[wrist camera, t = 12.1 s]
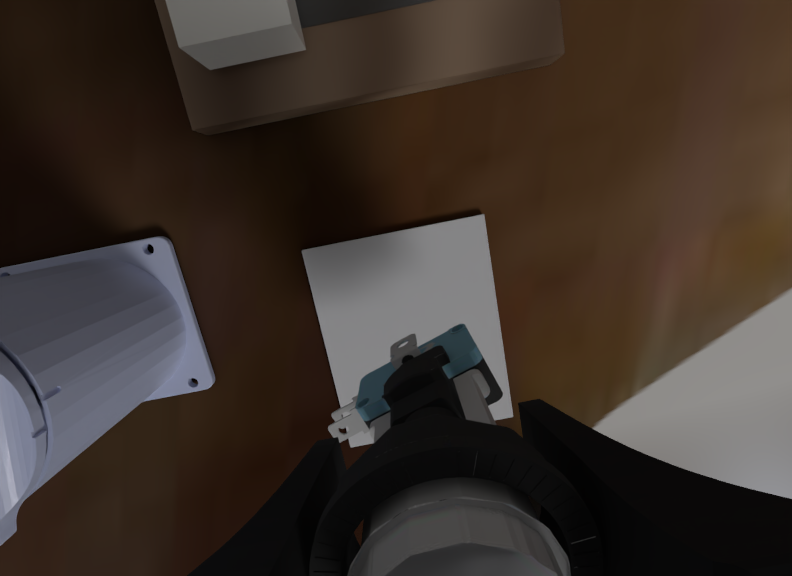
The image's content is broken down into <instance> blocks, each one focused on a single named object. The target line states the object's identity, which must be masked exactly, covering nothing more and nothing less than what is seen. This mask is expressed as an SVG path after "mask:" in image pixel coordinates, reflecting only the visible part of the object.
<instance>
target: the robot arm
mask: <svg viewBox="0 0 792 576" xmlns="http://www.w3.org/2000/svg"><path fill="white" fill-rule="evenodd" d="M148 244H150V245H152V246H153V248H154V252H153V254H152V253H150V252H149V251H148V248H147V246H148ZM8 274H10V275H9V276H8ZM192 378H195V379H196V380H197V381H198V384H195V383H193V382H192ZM214 382H215V375H214V372H213V369H212V366H211V363H210V360H209V356H208V353H207V350H206V347H205V344H204V341H203V338H202V335H201V332H200V328H199V325H198V322H197V319H196V316H195V313H194V310H193V307H192V303H191V300H190V297H189V294H188V291H187V288H186V285H185V282H184V279H183V275H182V272H181V269H180V266H179V263H178V260H177V257H176V254H175V251H174V247H173V244H172V243H171V241H170V240H169V239H168V238H167V237H164V236H157V237H152V238H147V239H142V240H137V241H132V242H127V243H122V244H117V245H112V246H107V247H102V248H97V249H92V250H87V251H82V252H78V253H73V254H68V255H63V256H58V257H53V258H48V259H43V260H38V261H33V262H28V263H23V264H18V265H13V266H8V267H3V268H0V546H1V545H2V544H3V543H4V542H5V541H6V540H7V539H8V538H9V537H11V536H12V535H13V534H14V533H15V532H16V531H17V527H16V517H17V512H18V510H19V507H20V505H21V504H22V503H23V501H24V500H25V499H26V498H28V497H29V496H30V495H31V494H32V493H34V492H35V491H36V490H37V489H38V488H40V487H41V486H42V485H43V484H44V483H46V482H47V481H48V480H49V479H50V478H52V477H53V476H54V475H55V474H56V473H58V472H59V471H60V470H61V469H62V468H64V467H65V466H66V465H67V464H68V463H70V462H71V461H72V460H73V459H74V458H76V457H77V456H78V455H79V454H80V453H82V452H83V451H84V450H85V449H86V448H88V447H89V446H90V445H91V444H92V443H93V442H95V441H96V440H97V439H98V438H99V437H101V436H102V435H103V434H104V433H105V432H107V431H108V430H109V429H110V428H111V427H113V426H114V425H115V424H116V423H117V422H119V421H120V420H121V419H122V418H123V417H125V416H126V415H127V414H128V413H129V412H131V411H132V410H133V409H134V408H135V407H137V406H138V405H139V404H140V403H141V402H143V401H148V400H154V399H159V398H164V397H169V396H174V395H179V394H185V393H190V392H195V391H200V390H205V389H208V388H210V387H211V386H212V385H213V384H214ZM518 405H519V412H520V419H521V426H522V434H523V439H524V440H525V441H526V442H528V443H529V444H530V445H531V446H532V447H533V448H535V449H536V450H537V451H538V452H539V453H540V454H541V455H542V456H543V457H544V459H545V460H546V461H547V462H549V463H550V464H552V465H553V466H554V467H555V468H556V469H557V470H559V471H560V472H561V473H562V474H563V475H564V476H565V477H566V478H567V479H568V480H569V481H570V483H571V484H572V485H573V486H574V488H575V489H576V491H577V492H578V493H579V495H580V496H581V498H582V500H583V501H584V503H585V504H586V506H587V508H588V509H589V511H590V513H591V515H592V517H593V519H594V521H595V523H596V526H597V528H598V531H599V534H600V538H601V543H602V549H603V574H602V576H792V499H789V498H785V497H780V496H776V495H772V494H768V493H764V492H760V491H756V490H751V489H748V488H744V487H740V486H737V485H733V484H730V483H726V482H723V481H719V480H716V479H713V478H710V477H706V476H703V475H700V474H697V473H694V472H690V471H688V470H685V469H682V468H679V467H676V466H674V465H671V464H669V463H666V462H663V461H661V460H658V459H656V458H653V457H651V456H648V455H646V454H643V453H641V452H639V451H636V450H634V449H632V448H630V447H627V446H625V445H623V444H621V443H619V442H617V441H615V440H613V439H611V438H609V437H607V436H605V435H603V434H601V433H599V432H597V431H595V430H593V429H592V428H590V427H588V426H586V425H584V424H582V423H581V422H579V421H577V420H575V419H574V418H572V417H570V416H568V415H567V414H565V413H563V412H561V411H560V410H558V409H556V408H555V407H553V406H551V405H549V404H548V403H546V402H544V401H542V400H540V399H536V400H531V401H526V402H521V403H518ZM346 471H347V470H346V466H345V463H344V459H343V455H342V451H341V447H340V443H339V439H338V437H336V438H330V439H325V440H320V441H317V442H316V443H315V444H314V445H313V447H312V448H311V449H310V450H309V452H308V453H307V454H306V455H305V457H304V458H303V459H302V460H301V462H300V463H299V464H298V466H297V467H296V468H295V469H294V470H293V472H292V473H291V474H290V475H289V477H288V478H287V479H286V480H285V481H284V483H283V484H282V485H281V486H280V487H279V489H278V490H277V491H276V492H275V493H274V494H273V495H272V496H271V498H270V499H269V500H268V501H267V502H266V503H265V504H264V505H263V506H262V508H261V509H260V510H259V511H258V512H257V513H256V514H255V515H254V516H253V517H252V518H251V519H250V520H249V521H248V522H247V523H246V524H245V525H244V526H243V527H242V528H241V529H240V530H239V531H238V532H237V533H236V534H235V535H234V536H233V537H232V538H231V539H230V540H229V541H228V542H226V543H225V544H224V545H223V546H222V547H221V548H220V549H219V550H218V551H216V552H215V553H214V554H213V555H212V556H210V557H209V558H208V559H207V560H206V561H204V562H203V563H202V564H201V565H199V566H198V567H197V568H196V569H195V570H193V571H192V572H191V573H190V574H189V575H187V576H309V565H310V557H311V550H312V546H313V541H314V537H315V533H316V530H317V526H318V523H319V520H320V518H321V516H322V513H323V511H324V509H325V507H326V506H327V504H328V502H329V500H330V499H331V497H332V496H333V495H334V493H335V492H336V491H337V489H338V484H339V480H340V478H341V476H342V475H343V474H344V473H345V472H346Z"/></svg>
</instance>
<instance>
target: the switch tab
mask: <svg viewBox="0 0 792 576" xmlns="http://www.w3.org/2000/svg"><path fill="white" fill-rule="evenodd" d="M165 1H166V4H167V8H168V11H169V15H170V18H171V22H172V25H173V29H174V32H175V36H176V39H177V43H178V46H179V48H180V49H182V50H183V51H184V52H186V53H187V54H188V55H190V56H191V57H193V58H194V59H195V60H197V61H198V62H200V63H201V64H202V65H204V66H205V67H206V68H208V69H209V70H213V69H218V68H223V67H227V66H232V65H237V64H242V63H246V62H251V61H256V60H261V59H265V58H270V57H275V56H280V55H285V54H289V53H294V52H299V51H304V50H306V47H305V42H304V38H303V33H302V29H301V24H300V20H299V15H298V11H297V6H296V2H295V0H165Z"/></svg>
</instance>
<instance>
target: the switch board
mask: <svg viewBox="0 0 792 576" xmlns="http://www.w3.org/2000/svg"><path fill="white" fill-rule="evenodd" d="M154 1H155V4H156V8H157V11H158V15H159V18H160V21H161V25H162V28H163V32H164V35H165V39H166V42H167V45H168V49H169V52H170V56H171V59H172V63H173V66H174V69H175V73H176V76H177V80H178V83H179V87H180V90H181V93H182V97H183V100H184V104H185V107H186V111H187V114H188V117H189V121H190V124H191V128H192V130H193V131H196V132H199V133H202V134H205V135H207V136H208V135H213V134H218V133H222V132H227V131H232V130H237V129H242V128H247V127H252V126H256V125H261V124H266V123H271V122H276V121H281V120H285V119H290V118H295V117H300V116H305V115H310V114H315V113H319V112H324V111H329V110H334V109H339V108H344V107H349V106H353V105H358V104H363V103H368V102H373V101H378V100H382V99H387V98H392V97H397V96H402V95H407V94H412V93H416V92H421V91H426V90H431V89H436V88H441V87H446V86H450V85H455V84H460V83H465V82H470V81H475V80H479V79H484V78H489V77H494V76H499V75H504V74H509V73H513V72H518V71H523V70H528V69H533V68H538V67H542V66H547V65H551V64H552V63H553V62H554V61H556V60H557V59H558V58H559V57H561V56H562V55H563V54H564V53H565V51H564V40H563V30H562V19H561V8H560V0H295V2H296V6H297V11H298V15H299V20H300V24H301V29H302V33H303V38H304V42H305V47H306V50H304V51H299V52H294V53H289V54H285V55H280V56H275V57H270V58H265V59H261V60H256V61H251V62H246V63H242V64H237V65H232V66H227V67H223V68H218V69H213V70H209V69H208V68H206V67H205V66H204V65H202V64H201V63H200V62H198V61H197V60H195V59H194V58H193V57H191V56H190V55H188V54H187V53H186V52H184V51H183V50H182V49H180V48H179V46H178V43H177V39H176V36H175V32H174V29H173V25H172V22H171V18H170V15H169V11H168V8H167V4H166V1H165V0H154Z"/></svg>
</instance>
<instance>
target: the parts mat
mask: <svg viewBox="0 0 792 576" xmlns="http://www.w3.org/2000/svg"><path fill="white" fill-rule="evenodd" d="M302 255H303V259H304V263H305V267H306V271H307V275H308V279H309V283H310V287H311V291H312V295H313V299H314V303H315V307H316V311H317V315H318V319H319V323H320V327H321V331H322V335H323V339H324V343H325V347H326V351H327V355H328V359H329V363H330V367H331V371H332V375H333V379H334V383H335V387H336V391H337V395H338V399H339V403H340V407H341V408H342V407H344V406H346V405H348V404H349V403H351V402H353V400H352V398H353V397H355V396H357V395H358V392H359V386H360V381H361V379H362V378H363V377H364V376H365V375H367V374H368V373H370V372H372V371H374V370H376V369H378V368H380V367H381V366H383V365H385V364H387V363H389V362H391V361H390V359H391V357H390V347H391V346H392V345H393V344H394V343H395V342H397V341H399V340H401V339H403V338H405V337H407V336H408V335H410V334H415V335H416V339H417V347H419V346H420V345H422V344H424V343H426V342H428V341H430V340H432V339H433V338H435V337H437V336H439V335H441V334H443V333H445V332H446V331H448V329H450V328H452V327H454V326H456V325H458V324H465V326H466V327H467V329H468V331H469V333H470V335H471V336H472V338H473V340H474V342H475V343H476V345H477V347H478V349H479V351H480V352H481V354H482V356H483V358H484V360H485V361H486V363H487V365H488V367H489V368H490V370H491V372H492V374H493V376H494V378H495V379H496V381H497V383H498V385H499V387H500V388H501V390H502V392H503V396H502V398H501V399H500V400H499V401H497V402H495V403H493V404H491V405H489V406H488V407H489V409H490V412H491V414H492V416H493V418H494V420H499V419H504V418H509V417H513V412H512V405H511V398H510V391H509V384H508V377H507V370H506V363H505V356H504V349H503V342H502V335H501V328H500V322H499V315H498V308H497V301H496V294H495V287H494V280H493V273H492V266H491V259H490V252H489V245H488V238H487V231H486V225H485V218H484V214H480V215H475V216H470V217H465V218H460V219H455V220H450V221H445V222H440V223H435V224H430V225H425V226H420V227H415V228H410V229H405V230H400V231H395V232H390V233H385V234H380V235H375V236H370V237H365V238H360V239H355V240H350V241H345V242H340V243H335V244H330V245H325V246H320V247H315V248H310V249H305V250H302ZM407 343H408V342H405V343H403V344H401V345H400V346H399V347H398V348H400V347H402V346H404V345H406V344H407ZM342 415H343V418H344V417H346V416H348V415H350V413H349V412H344V413H342ZM346 431H347V432H348V431H349V428H348V426H347V427H346ZM348 439H349V443H350V447H356V446H361V445H366V444H371V443H374V440H373V439H372V437H371V436H370V433H369V432H367V433H365V434H364V432H363V431H361V432H359V433H357V434H355V435H353V436H351V437H350V438H348Z"/></svg>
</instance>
